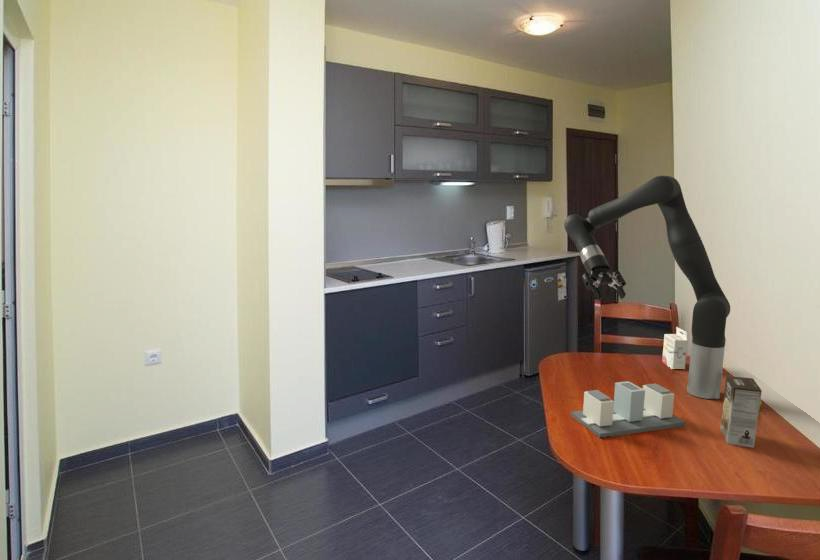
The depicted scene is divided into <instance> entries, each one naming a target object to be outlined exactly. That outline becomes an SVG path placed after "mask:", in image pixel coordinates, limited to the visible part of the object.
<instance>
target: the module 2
mask: <svg viewBox="0 0 820 560" xmlns="http://www.w3.org/2000/svg"><path fill="white" fill-rule="evenodd" d="M642 389H644V390H645V399H644V409H645V410H647V411H649V412H650V413H652V414H654V415H655V416H657V417H659V418H660V419H661V418H668V417H672V415H673V414H674V413H673V411H674V402H675V393H673V392H671V390H669V389H668V388H665V387H664V386H662V385H660V384H658V383H656V382H655V383H647V384H643V385H642Z"/></svg>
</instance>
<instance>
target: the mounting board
mask: <svg viewBox="0 0 820 560" xmlns="http://www.w3.org/2000/svg"><path fill="white" fill-rule="evenodd" d="M570 416H571V417H572V418H573V419H575V420H576V421H577V422H578V421H579V424H581V423H582V424H583V427H585V426H586V427H587V428H588V429H587V428H586V427H585V428H586V429H587V430H589V431H590V430H591V431H592V432H591V431H590V432H591V433H593V434H594V435H595V436H596V435H597V438H599V439H601V438H600V437H603V438H608V437H607V436H610V437H616V436H623V435H624V436H625V435H631V434H638V433H646V432H652V431H659V430H660V431H661V430H667V429H673V428H681V427H682V428H683V427H686V426H687V425H686V424H687V423H686V421H685V420H684V419H681V418H679V417H677V416H676V415H674V414H672V417H668V418H661V419H660V418H659V417H657V416H655V415H654V414H652V413H650V412H649V411H647V410H645V409H644V410H643V420H639V421H632V422H629V421H627V420H626V419H624V418H623V417H621V416H620V415H618V414H616V413H615V412H613V420H612V425H608V426H598V425H597V424H595V423H594V422H593V421H591V420H590V419H589V418H587V417H586V416H585V415H583V409H582V410H575V411H571V412H570ZM582 424H581V425H582Z"/></svg>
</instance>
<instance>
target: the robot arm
mask: <svg viewBox="0 0 820 560" xmlns="http://www.w3.org/2000/svg"><path fill="white" fill-rule="evenodd" d="M653 205H657V206H658V208H659V210H660V212H661V213H662V216H663V218H664V221H665V227H666V234H667V241H668V242H667V243H668V246H669V249H670V251H671V253H672V255H673V258H674V260H675V262H676V264H677V266H678V268H679V269H680V270H681V272H682V273H683V274H684V276H685V277H686V278H687V280H688V281H689V283H690V284H691V287H692V289H693V292H694V295H695V298H696V302H695V304H694V307H693V310H692V318H691V336H692V337H691V348H690V355H689V356H690V357H689V365H688V367H689V369H688V377H687V383H686V384H687V385H686V388H687V389H686V392H687V394H690V395H692V396H694V397H697V398H702V399H706V400H707V399H708V400H721V399H720V397H721V389H722V380H723V366H724V359H725V358H724V357H725V349H726V348H725V346H726V341H727V340H726V328H727V327H726V324H727V318H728V316H729V315H730V312H731V305H730V302H729V300H728V298H727V297H726V294H724V291H723V290H722V289H723V288H721V286H720V284H719V282H718V280H717V278H716V276H715V273H714V270H713V267H712V264H711V261H710V258H709V255H708V253H707V250H706V248H705V245H704V243H703V240H702V238H701V236H700V234H699V232H698V229H697V227H696V225H695V223H694V221H693V218H692V217H691V215H690V214H689V213H690V212H688V208H687V205H686V202H685V198H684V194H683V192H682V188H681V184H680V183H679V181H678V180H677V179H676V178H675V177H674V176H670V175H657V176H655V177H653V178H652V179H650V180H649V181H647V182H645V183H643V184H642V185H640V186H638V187H637V188H635V189H634V190H632V191H630V192H628V193H627V194H625V195H622V196H620V197H618V198H615V199H613V200H610V201H608V202H605V203H603V204H601V205H598V206H597V207H593V208H592V209H591V210H589V212H588V216H587V217H586V218H584V217H583V216H580V215H578V214H577V213H575V214H569V215H568V216H566V218H565V219H564V223H563V225H564V226H563V227H564V230H565V232H566V234H567V235H568V236H569V238H570V239H571V242H573V243H574V245H575V247H576V249H577V251H578V253H579V256H580V260H581V262H582V265H583V266H584V269H585V270H586V271H585V272H584V274H582V276H581V277H582V281H583V284H584V285H585V289H586V290H587V291H590V290H591V291H592V292H593V294H594V295H595V298H596V299H597V300H598V301H601V300H602V299H603V298H604V295H603V293H602V290H601V288H600V287H599V286H603V285H604V286H609V287H610V288H614V289H615V291H616V293H617V295H618V297H619V299H622V300H623V299H624V298H625V297H626V292H625V290H624V287H625V285H627V283H626V280H625V279H624V277H623V276H622V273H621V271H619V270H616V271H615V272H612V271H611V269H610V265H609V262H608V260H607V259H606V257H605V254H604V253H603V251H602V249H601V248H600V246H599V244H598V243H597V241H596V239H595V237H594V236H593V235H592V233H593V232H595V231H596V230H598V229H599V228H600V227H602V226H606V225H608V224H611V223H612V222H615V221H617V220H619V219H620V218H622V217H624V216H626V215H628V214H630V213H632V212H634V211H637V210H639V209H642V208H645V207H648V206H653Z"/></svg>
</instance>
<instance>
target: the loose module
mask: <svg viewBox="0 0 820 560" xmlns="http://www.w3.org/2000/svg"><path fill="white" fill-rule="evenodd" d="M644 399H645V390H644V389H643V387H640V386H639V385H636V384H634V383H633V382H631V381H619V382H618V381H617V382H615V383H614V395H613V401H614V407H613V412H615V413H616V414H618V415H620V416H621V417H623V418H624V419H626V420H627V421H629V422H632V421H639V420H643V410H644Z"/></svg>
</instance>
